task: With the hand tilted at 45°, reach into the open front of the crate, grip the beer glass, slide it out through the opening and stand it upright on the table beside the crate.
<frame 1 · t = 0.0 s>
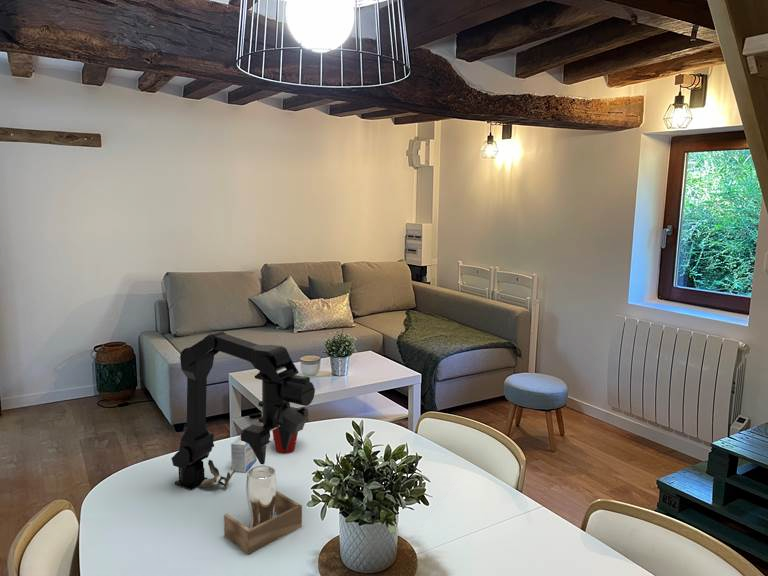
hand: (273, 456, 146), 15 cm above the table, tool pointing down, fingers open, 9 cm apart
beer glass: (261, 530, 140), resting in crate
crate: (261, 529, 140), on the table
plastic cup: (285, 450, 183), on the table
eagle figurine: (214, 486, 160), on the table, touching arm
medicine box: (244, 466, 171), on the table
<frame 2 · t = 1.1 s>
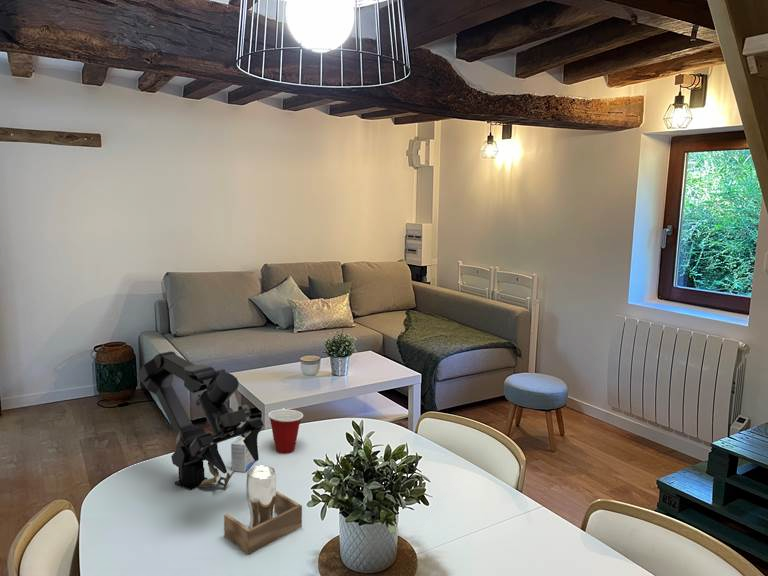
hand: (241, 466, 143), 13 cm above the table, tool tilted 45°, fingers open, 9 cm apart
nothing on the table moved.
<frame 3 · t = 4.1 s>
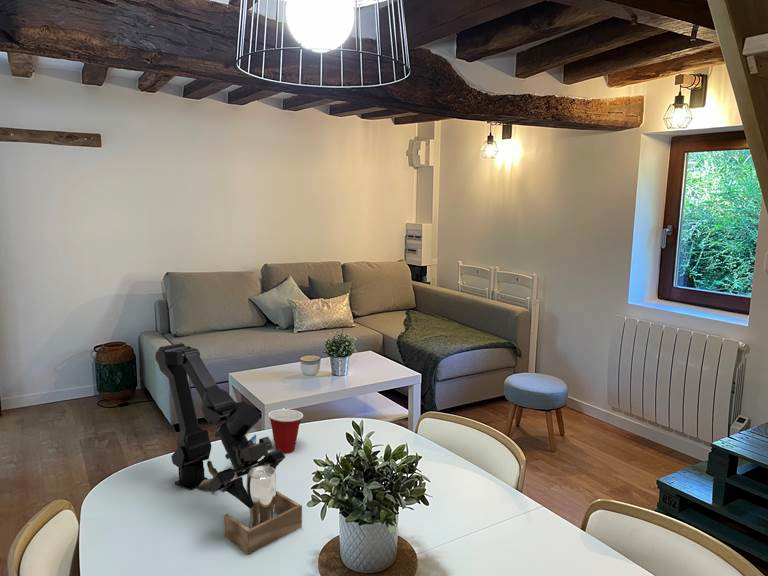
hand: (263, 502, 138), 8 cm above the table, tool tilted 45°, fingers closed on beer glass, 7 cm apart
beer glass: (261, 530, 140), resting in crate, touching gripper
everything else where it was.
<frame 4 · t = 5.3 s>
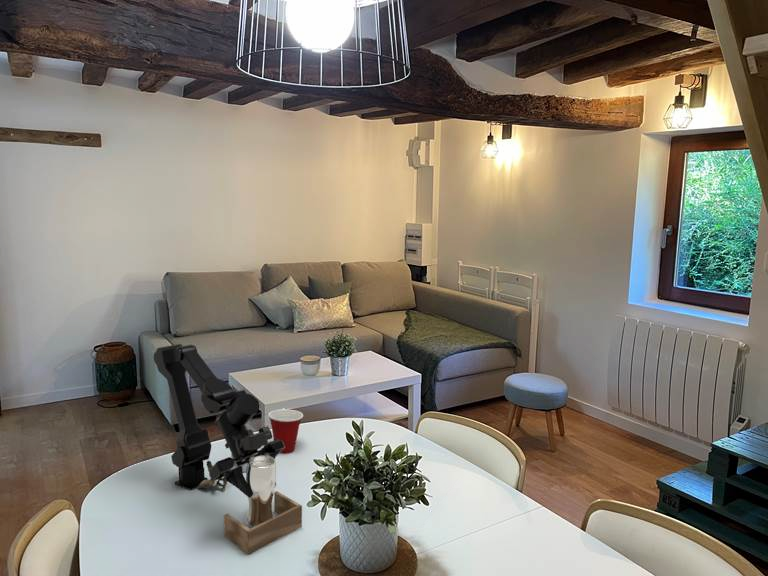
hand: (263, 491, 138), 10 cm above the table, tool tilted 45°, fingers closed on beer glass, 7 cm apart
beer glass: (260, 520, 139), point 2 cm above the table, touching gripper
everything else where it was.
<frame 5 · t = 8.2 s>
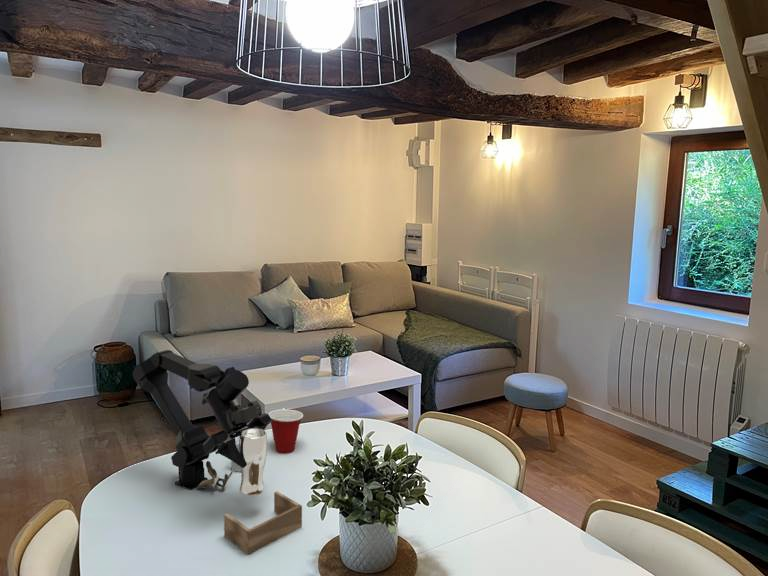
hand: (255, 462, 145), 14 cm above the table, tool tilted 45°, fingers closed on beer glass, 7 cm apart
beer glass: (251, 490, 146), point 6 cm above the table, touching gripper
everything else where it was.
when the fingers open (9 cm above the table, at t = 11.4 s): beer glass drops 1 cm, on the table.
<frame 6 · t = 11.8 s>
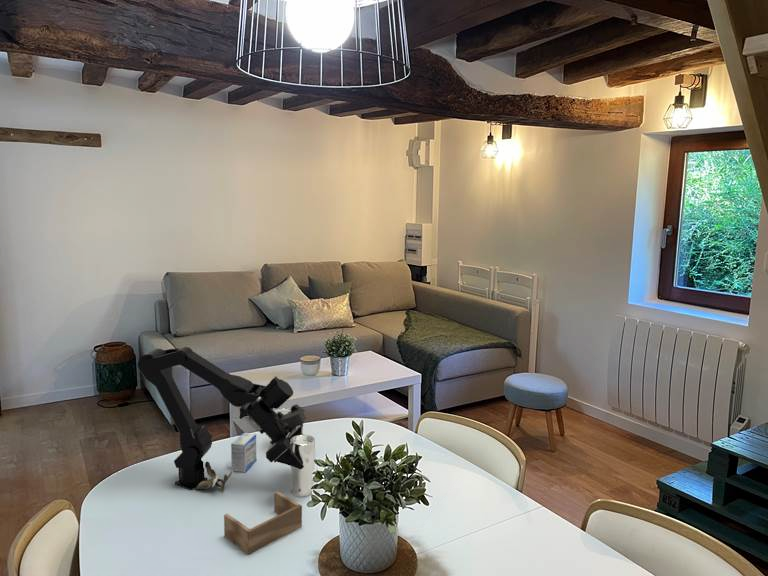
hand: (306, 460, 157), 9 cm above the table, tool tilted 45°, fingers open, 9 cm apart
beer glass: (302, 491, 158), on the table
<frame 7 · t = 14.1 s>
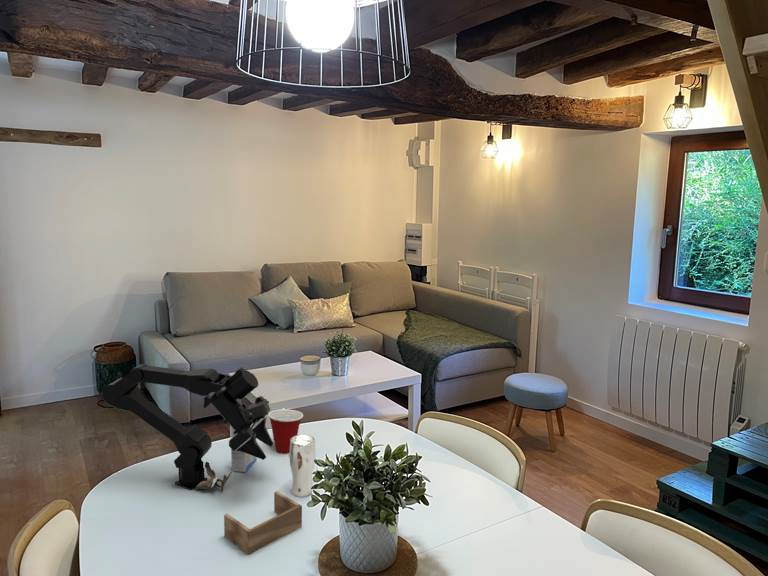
hand: (268, 451, 157), 11 cm above the table, tool tilted 40°, fingers open, 9 cm apart
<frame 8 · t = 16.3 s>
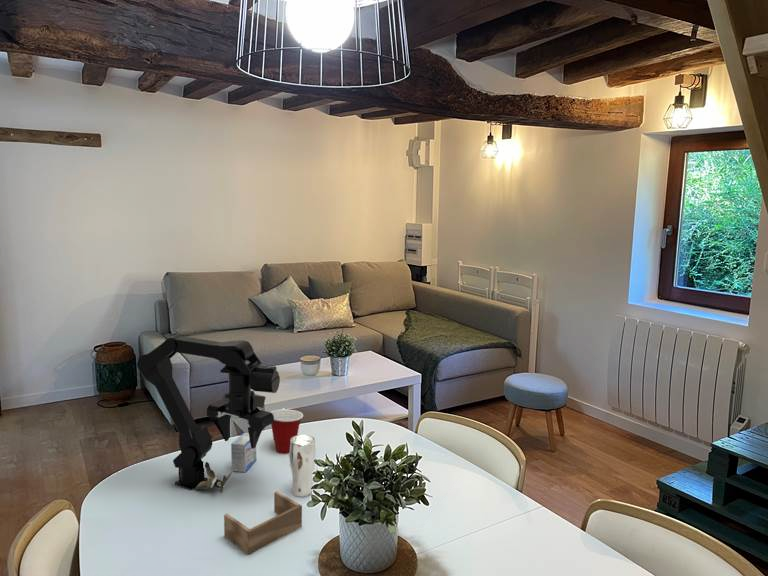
hand: (240, 444, 156), 13 cm above the table, tool pointing down, fingers open, 9 cm apart
at the end: beer glass 0.4 cm from the target spot, on the table; beer glass tilted 0°; the gripper is holding nothing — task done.
